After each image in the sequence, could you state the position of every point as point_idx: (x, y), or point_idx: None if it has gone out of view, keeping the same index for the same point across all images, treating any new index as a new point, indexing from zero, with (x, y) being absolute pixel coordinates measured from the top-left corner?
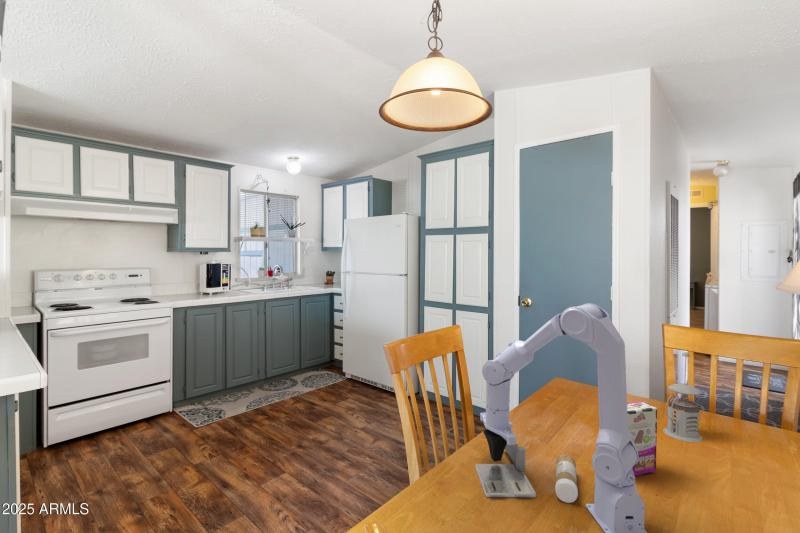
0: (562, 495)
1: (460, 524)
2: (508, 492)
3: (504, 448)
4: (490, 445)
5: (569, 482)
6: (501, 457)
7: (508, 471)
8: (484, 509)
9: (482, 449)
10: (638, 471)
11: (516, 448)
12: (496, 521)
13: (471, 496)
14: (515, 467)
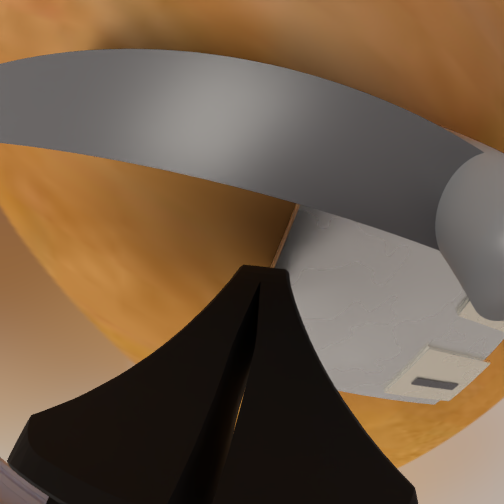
0: None
1: (443, 440)
2: (492, 350)
3: (315, 356)
4: (233, 431)
5: None
6: (290, 288)
7: (393, 259)
8: (457, 404)
9: (60, 215)
10: None
11: (483, 312)
12: (498, 394)
13: (396, 415)
14: None
